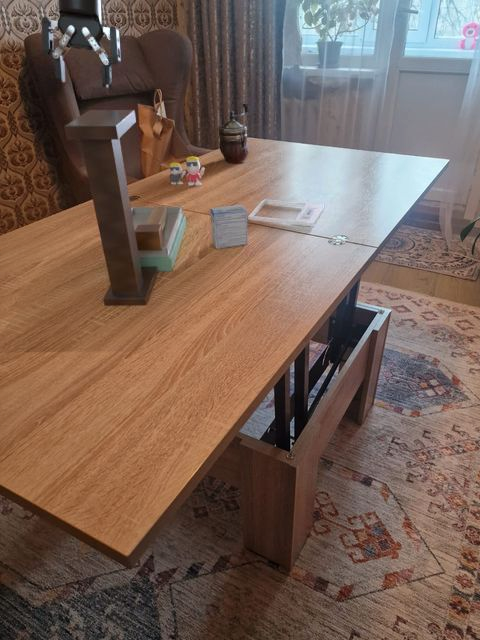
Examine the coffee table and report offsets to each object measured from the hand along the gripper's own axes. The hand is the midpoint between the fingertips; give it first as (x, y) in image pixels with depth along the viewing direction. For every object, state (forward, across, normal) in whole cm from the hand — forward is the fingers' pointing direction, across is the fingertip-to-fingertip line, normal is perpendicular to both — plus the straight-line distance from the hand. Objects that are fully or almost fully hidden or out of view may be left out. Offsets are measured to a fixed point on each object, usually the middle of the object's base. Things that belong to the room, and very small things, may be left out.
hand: (83, 84), depth 96 cm
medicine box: (+30, -32, -6) cm, 44 cm away
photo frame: (+25, -47, -25) cm, 58 cm away
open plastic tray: (+33, -13, -5) cm, 35 cm away
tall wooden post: (+36, -13, +16) cm, 41 cm away
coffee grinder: (+17, -31, -83) cm, 91 cm away
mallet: (+28, -14, -1) cm, 32 cm away
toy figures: (+24, -16, -54) cm, 61 cm away
